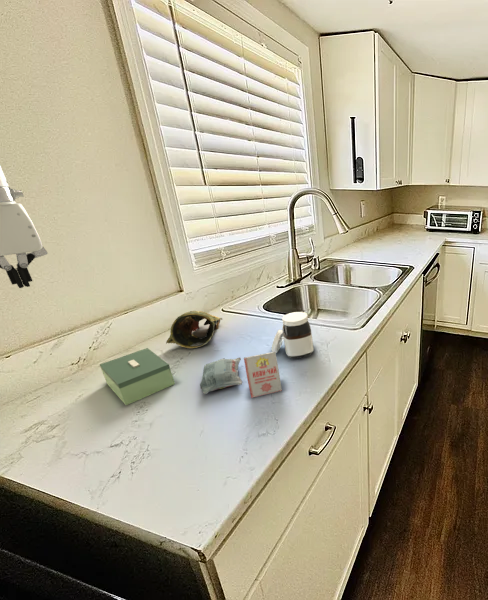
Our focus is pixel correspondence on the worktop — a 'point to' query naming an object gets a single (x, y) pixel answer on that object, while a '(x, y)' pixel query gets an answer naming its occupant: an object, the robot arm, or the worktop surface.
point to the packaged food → (220, 375)
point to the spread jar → (294, 336)
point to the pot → (192, 329)
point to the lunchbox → (137, 375)
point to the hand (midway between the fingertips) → (23, 285)
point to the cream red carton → (262, 374)
